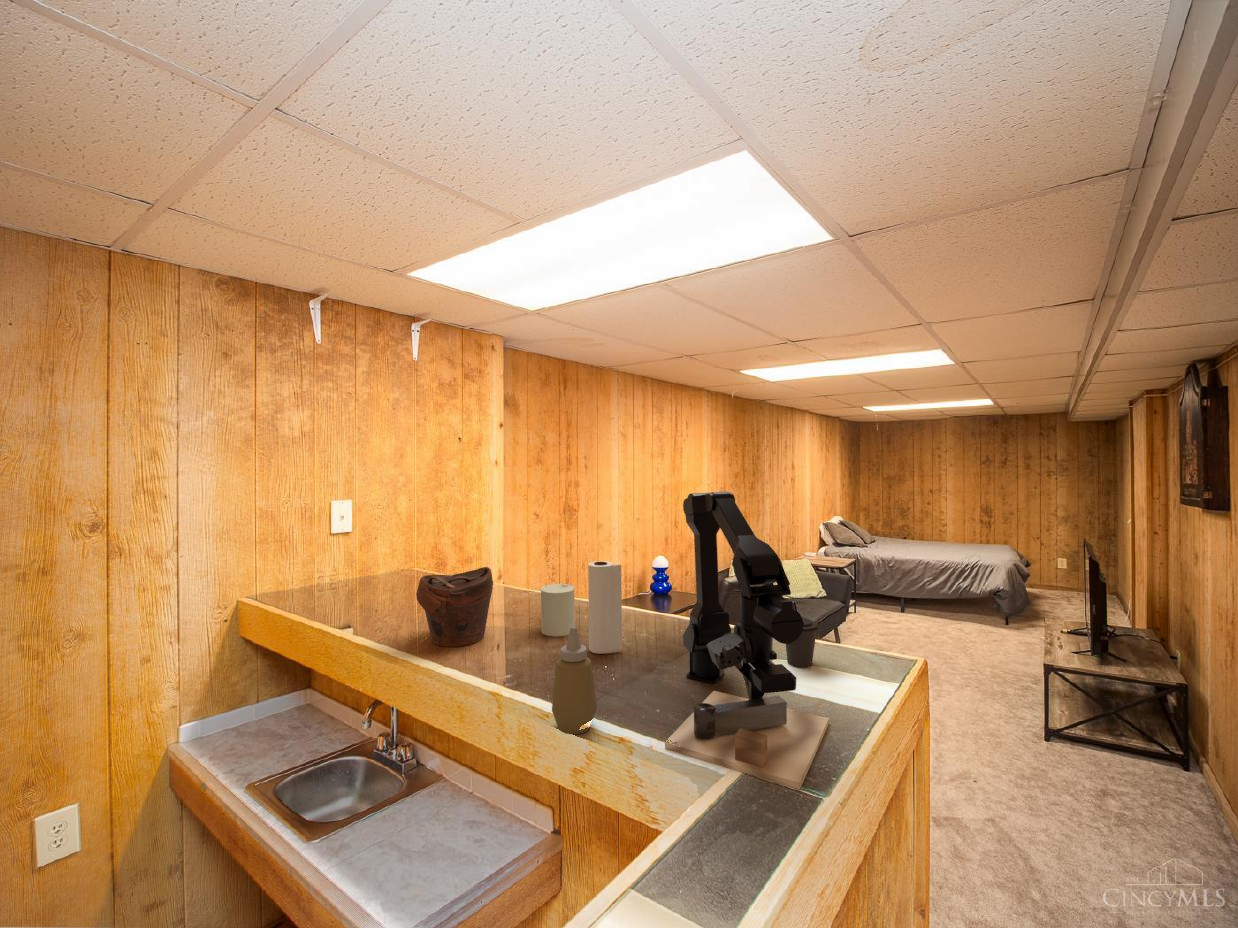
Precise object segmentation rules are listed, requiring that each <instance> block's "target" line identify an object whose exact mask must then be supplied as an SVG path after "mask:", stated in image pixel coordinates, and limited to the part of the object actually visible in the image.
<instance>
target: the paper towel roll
mask: <svg viewBox="0 0 1238 928" xmlns="http://www.w3.org/2000/svg"><path fill="white" fill-rule="evenodd" d="M587 567H588V569H587V570H588V573H587V574H588V578H587V579H588V580H587V581H588V589H587V590H588V649H589V652H590V653H593V654H599V655H601V654H602V655H603V654H611V653H616V652H622V651H623V638H622V637H623V631H622V628H623V627H622V626H623V624H622V623H623V620H622V619H623V615H622V613H623V612H622V611H623V609H622V608H623V607H622V605H623V604H622V593H623V592H622V588H623V587H622V564H616V565H614V563H613V562H612V561H604V560H601V561H599V560H596V561H592V562H589V563H588V566H587Z"/></svg>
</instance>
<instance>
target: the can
mask: <svg viewBox="0 0 1238 928" xmlns="http://www.w3.org/2000/svg"><path fill="white" fill-rule="evenodd" d="M575 590H576V588H575V586H574V585H572V584H566V583H552V584H547V585H544V586H541V588H540V603H541V605H540V606H541V608H540V609H541V613H540V614H541V615H540V616H541V617H540V618H541V621H540V622H541V626H540V628H541V629H540V633H541V634H542V635H545V636H548V637H554V638H555V637H565V636H569V632H570V628H571V627H576V621H575V620H576V618H575V617H576V614H575V613H576V610H575V609H576V608H575V606H576V605H575V599H576V598H575V597H576V596H575Z"/></svg>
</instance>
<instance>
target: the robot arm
mask: <svg viewBox="0 0 1238 928" xmlns="http://www.w3.org/2000/svg"><path fill="white" fill-rule="evenodd" d="M682 507H683V508H682V509H683V513H684V516H685V522H686V524H687V526H688V527H689V529H690V530H691V532H692V533H693V537H694V538H693V539H694V540H693V541H694V560H695V561H694V562H695V563H694V565H695V567H694V568H695V591H696V593H695V594H696V602H695V605H694V606H693V608H692V609H691V612H690V614H689V623H688V626H687V627H686V630H685V631H684V633H683V635H682V642H683V646H684V647H685V648H686V649H687V651H689V661H688V662H689V663H688V664H689V672H688V673H686V674H685V675H686V678H689V679H691V680H692V679H693V680H697V681H702V682H706V683H708V684H709V683H710V684H715V683H716V682H717V681H718V680H719V679H721V677H722V676H724V674H725V669H726V670H727V669H728V668H733V667H735V668H736V669H737V670H738V671H739V672H740V673H741V675H742V676H743V677H742V678H743V680H744V685H745V687H746V692H747V696H748V699H749V700H753V699H759V698H764V695H765V694H772V693H783V692H790V691H795V690H797V676H795V675H794V674H793V673H792V672H791V671H790V670H789V669H788V668H787V667H786V666H785V665H783V664H782V663H779V664H778V663H777V664H776V663H775V662H773V660H777V659H778V658H777V657H778V654H777V652H776V651H774V650H773V643H774V642H773V639H774V640H775V641H777V642H778V643H780V644H784V645H786V644H789V643H792V642H794V641H795V640H797V639H798V638H799V636H800V635H801V633H802V631H803V627H804V622H803V620H802V618H803V617H802V615H801V614H800V613H799V611H798V610H796V609H794V602H793V600H791V599H789V598H786V597H784V596H791V594H792V592H791V588H790V585H791V582H790V581H789V578H788V575H787V574H786V572H785V569H784V567H783V566H784V565H783V562H782V560H781V558H780V557H779V555H778V553H777V552H776V551H775V550H774V548H772V547H771V545H770V544H768V543H767V542H765V541H763V540H761V539H759V538H758V537H757V535H755V533H754V531H753V530H752V528H751V526H750V524H749V523H748V521H747V520H746V517H745V516H744V515H743V513H742V511H741V509H740V508H739V506H738V505H737V503H736V498H735V495H734V493H733V492H730V491H712V492H695V493H689V494H688V496H687V497H686V498H684V500H683V504H682ZM720 530H721V532H722V534H723V536H724V537H725V540H726V541H727V544H728V545H729V547H730V549H731V550H732V551H731V552H732V554H733V557H732V561H731V565H732V567H733V573H734V575H735V578H736V580H737V582H738V584H737V585H736V589H737V590H738V591H740V601H739V602H740V605H739V622H736V623H735V625H733V632H732V628H731V625H730V615H729V613H728V612H727V611H725V609H724V608H723V606H722V605H721V603H720V587H719V586H720V584H719V583H720V582H719V562H718V559H719V558H718V539H717V538H718V532H719V531H720ZM775 583H776V584H775ZM767 584H770V585H767Z"/></svg>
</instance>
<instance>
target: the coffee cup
mask: <svg viewBox="0 0 1238 928" xmlns="http://www.w3.org/2000/svg"><path fill="white" fill-rule="evenodd" d="M802 620H803V622H804V627H803V631H802V633H801V635H800V636H799V638H798V639H797V640H795V641H794V642H792V643H789V644H785V651H786V662H787V664H788V665H790V667H794V668H799V669H807V668H810V667H812V666H813V662H814V652H815V646H816V645H815V644H816V636H817V630H818V629H820V626H819V625H818V623H817V622H815V620H812V619H808V618H804V617H802Z"/></svg>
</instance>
